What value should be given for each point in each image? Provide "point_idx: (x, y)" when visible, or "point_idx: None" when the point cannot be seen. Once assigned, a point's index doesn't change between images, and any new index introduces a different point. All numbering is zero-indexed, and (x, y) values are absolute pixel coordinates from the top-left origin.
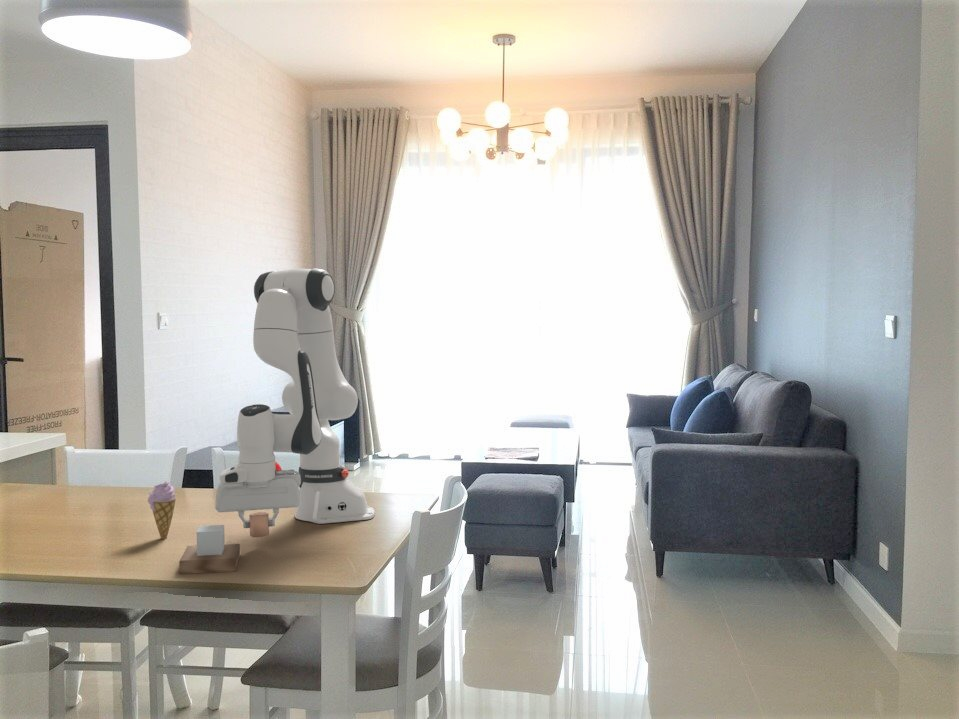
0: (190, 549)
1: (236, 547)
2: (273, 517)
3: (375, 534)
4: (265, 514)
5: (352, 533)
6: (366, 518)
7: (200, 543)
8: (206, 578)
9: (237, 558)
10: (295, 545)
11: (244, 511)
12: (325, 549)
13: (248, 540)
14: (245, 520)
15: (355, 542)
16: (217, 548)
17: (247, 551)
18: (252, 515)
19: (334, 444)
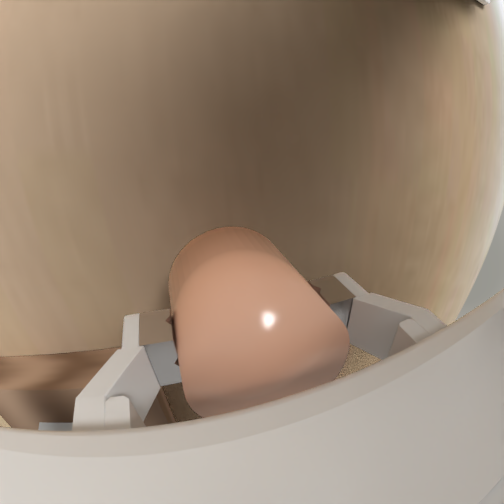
0: (16, 421)
1: (156, 417)
2: (362, 347)
3: (497, 133)
4: (326, 364)
5: (475, 102)
6: (483, 3)
7: None
8: None
9: (172, 421)
10: (354, 202)
11: (136, 420)
12: (416, 256)
13: (126, 85)
14: (155, 390)
15: (471, 194)
16: None
17: (159, 287)
18: (217, 398)
19: None
